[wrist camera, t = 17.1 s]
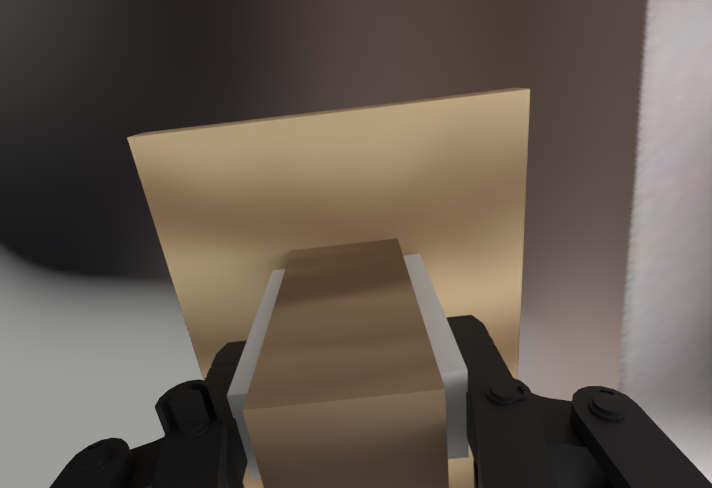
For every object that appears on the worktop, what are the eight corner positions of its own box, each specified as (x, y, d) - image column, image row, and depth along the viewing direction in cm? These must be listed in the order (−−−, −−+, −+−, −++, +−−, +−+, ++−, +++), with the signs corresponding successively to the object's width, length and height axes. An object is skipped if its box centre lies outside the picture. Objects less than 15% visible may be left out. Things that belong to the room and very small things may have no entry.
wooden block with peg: (143, 132, 15) (-119, 211, 7) (516, 87, 15) (748, 109, 6) (253, 501, 22) (197, 764, 14) (504, 476, 22) (603, 728, 14)
